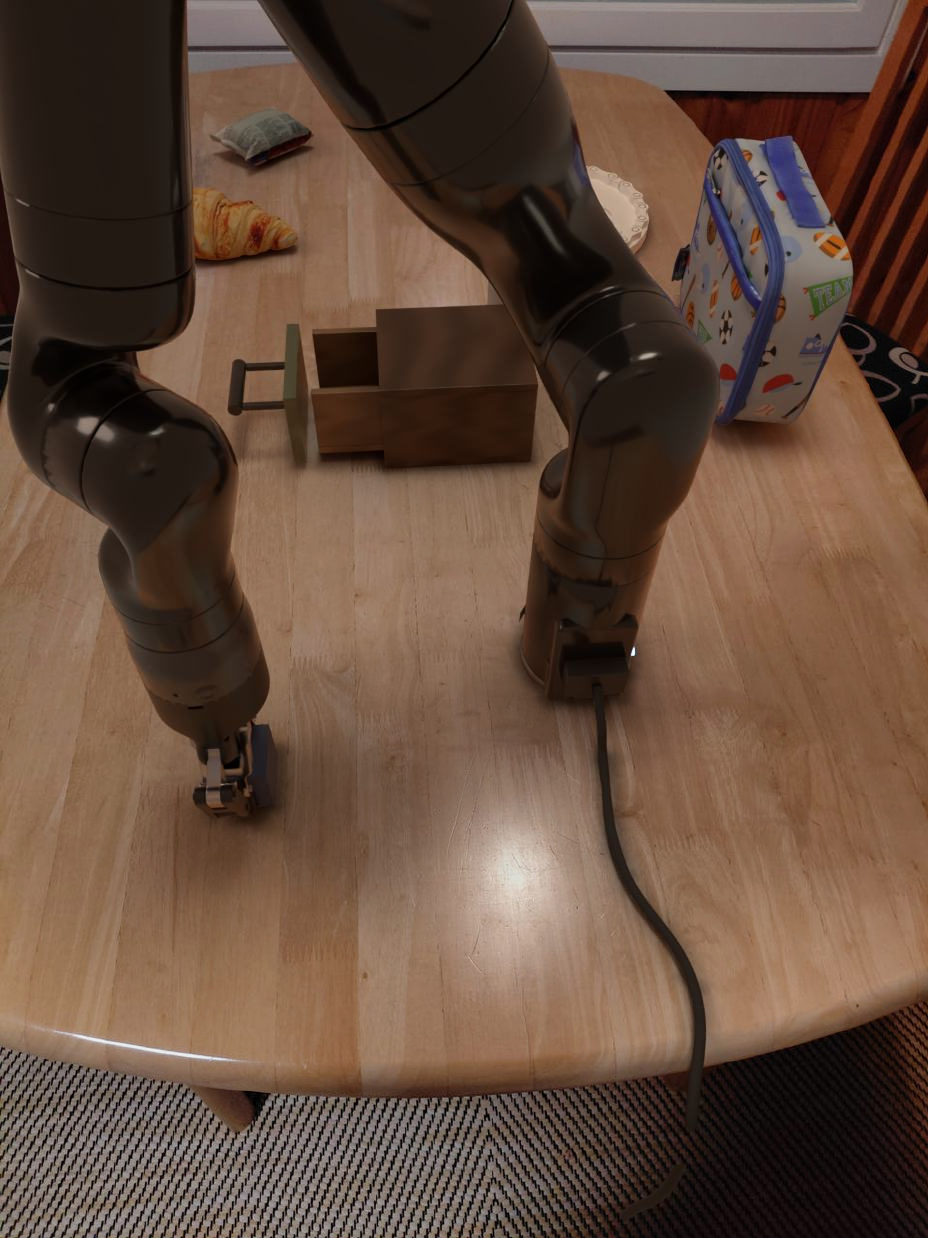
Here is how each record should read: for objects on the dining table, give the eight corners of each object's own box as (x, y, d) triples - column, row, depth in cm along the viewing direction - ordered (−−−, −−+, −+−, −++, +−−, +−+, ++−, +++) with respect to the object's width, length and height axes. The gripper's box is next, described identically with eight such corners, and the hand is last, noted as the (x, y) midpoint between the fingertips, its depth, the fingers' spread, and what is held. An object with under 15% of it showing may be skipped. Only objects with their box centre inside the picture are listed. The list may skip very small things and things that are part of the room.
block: (275, 806, 70) (266, 777, 66) (214, 810, 70) (202, 782, 66) (277, 753, 73) (268, 723, 69) (219, 757, 72) (207, 727, 69)
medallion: (583, 297, 110) (585, 279, 109) (407, 221, 120) (406, 203, 118) (680, 215, 122) (683, 197, 120) (512, 151, 132) (513, 134, 130)
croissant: (305, 261, 120) (305, 193, 117) (290, 266, 111) (288, 193, 108) (142, 251, 120) (136, 182, 117) (113, 255, 111) (106, 181, 108)
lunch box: (658, 292, 111) (698, 99, 94) (744, 291, 112) (799, 98, 94) (707, 450, 95) (766, 250, 77) (807, 447, 95) (889, 248, 78)
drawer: (235, 464, 91) (219, 401, 85) (242, 389, 98) (228, 326, 92) (431, 455, 92) (430, 391, 86) (424, 381, 99) (422, 318, 93)
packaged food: (212, 153, 130) (205, 117, 126) (281, 127, 135) (276, 91, 131) (250, 178, 126) (244, 141, 123) (318, 149, 132) (315, 113, 128)
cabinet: (385, 468, 92) (379, 390, 85) (381, 386, 100) (375, 308, 92) (530, 461, 93) (538, 383, 86) (515, 380, 101) (521, 303, 93)
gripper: (150, 565, 61) (203, 704, 75) (120, 756, 53) (187, 874, 66) (265, 559, 62) (297, 698, 76) (254, 747, 53) (293, 866, 67)
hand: (245, 780), depth 71 cm, fingers closed on block, 4 cm apart
